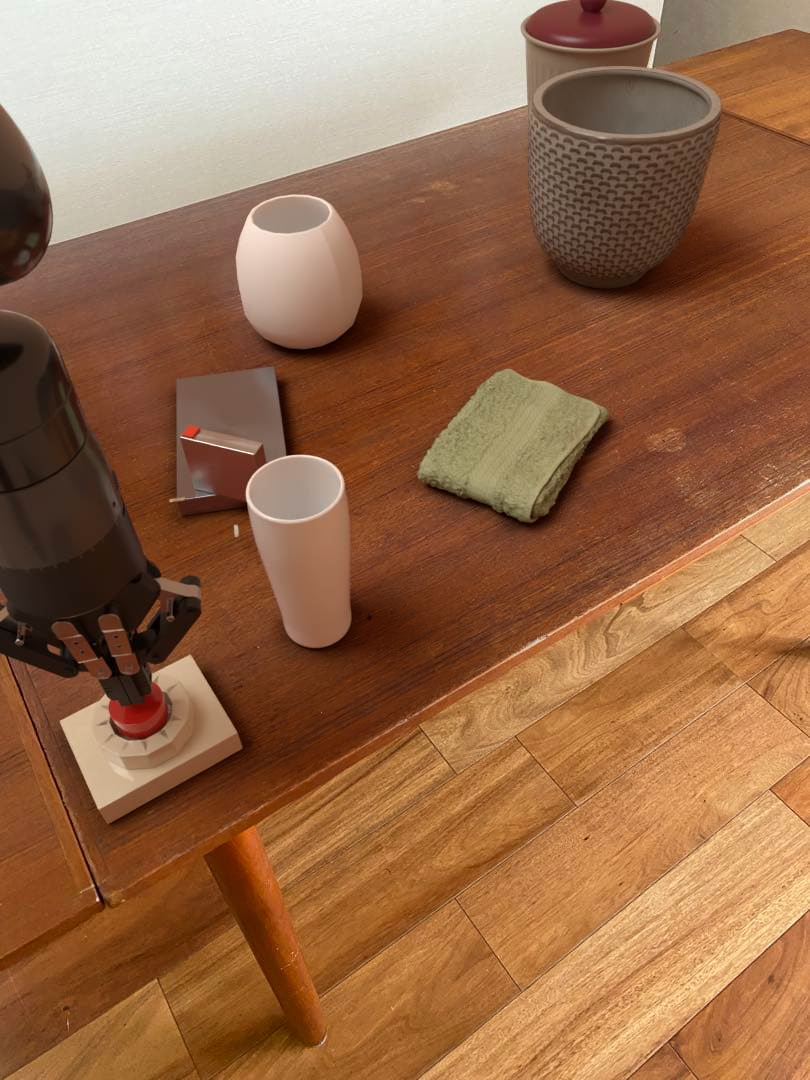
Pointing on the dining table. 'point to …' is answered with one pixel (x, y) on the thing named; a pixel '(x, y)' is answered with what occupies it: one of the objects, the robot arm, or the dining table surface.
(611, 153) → the planter
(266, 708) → the dining table surface
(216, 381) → the base
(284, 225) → the cup
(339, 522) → the drinking glass
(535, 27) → the canister
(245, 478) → the spout
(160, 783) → the button block
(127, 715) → the button
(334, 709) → the dining table surface
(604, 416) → the washcloth
